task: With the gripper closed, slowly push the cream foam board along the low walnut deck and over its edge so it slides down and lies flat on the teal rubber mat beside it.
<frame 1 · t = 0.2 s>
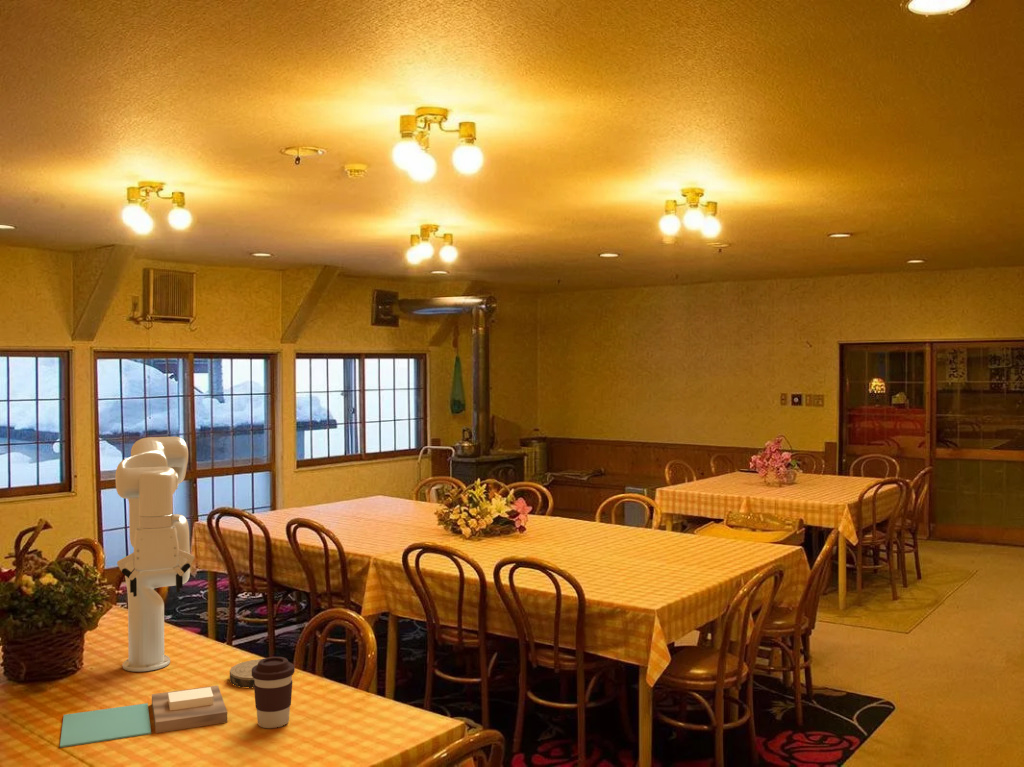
hand: (156, 593, 219), 31 cm above the table, tool pointing down, fingers open, 9 cm apart
deck: (188, 712, 224), on the table
wood slice coaster: (260, 679, 250), on the table
mat: (106, 724, 217), on the table
coffee cup: (273, 724, 218), on the table
cream foam board: (190, 702, 224), point 2 cm above the table, touching deck
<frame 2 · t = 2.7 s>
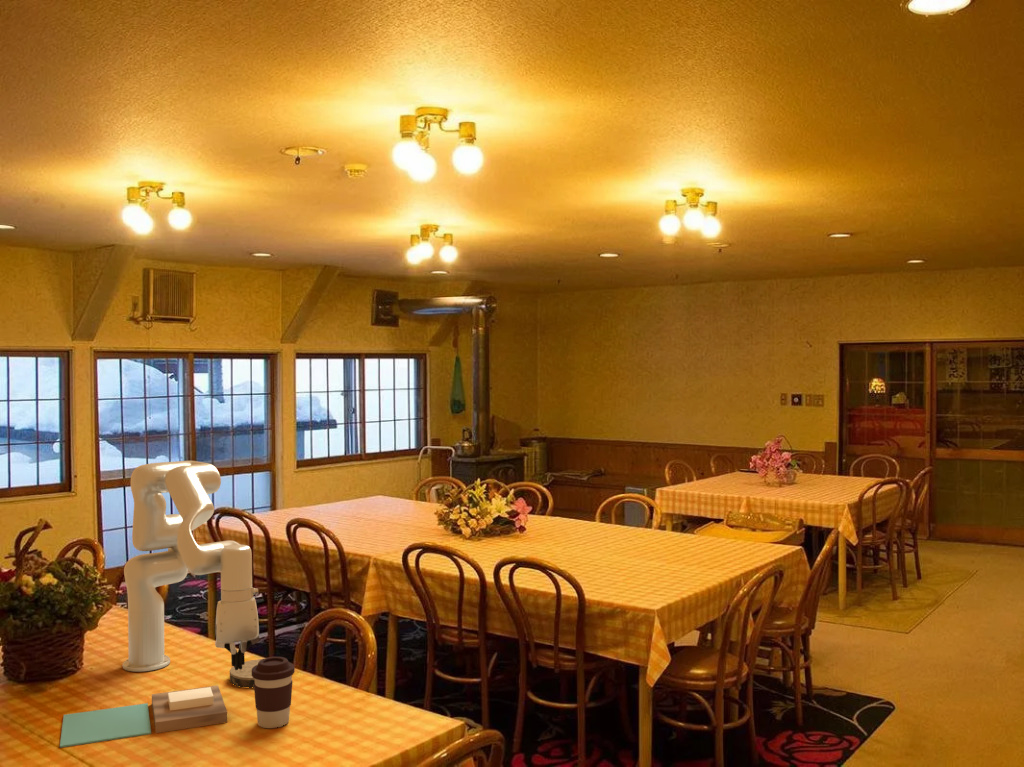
hand: (238, 668, 228), 10 cm above the table, tool pointing down, fingers closed
nothing on the table moved.
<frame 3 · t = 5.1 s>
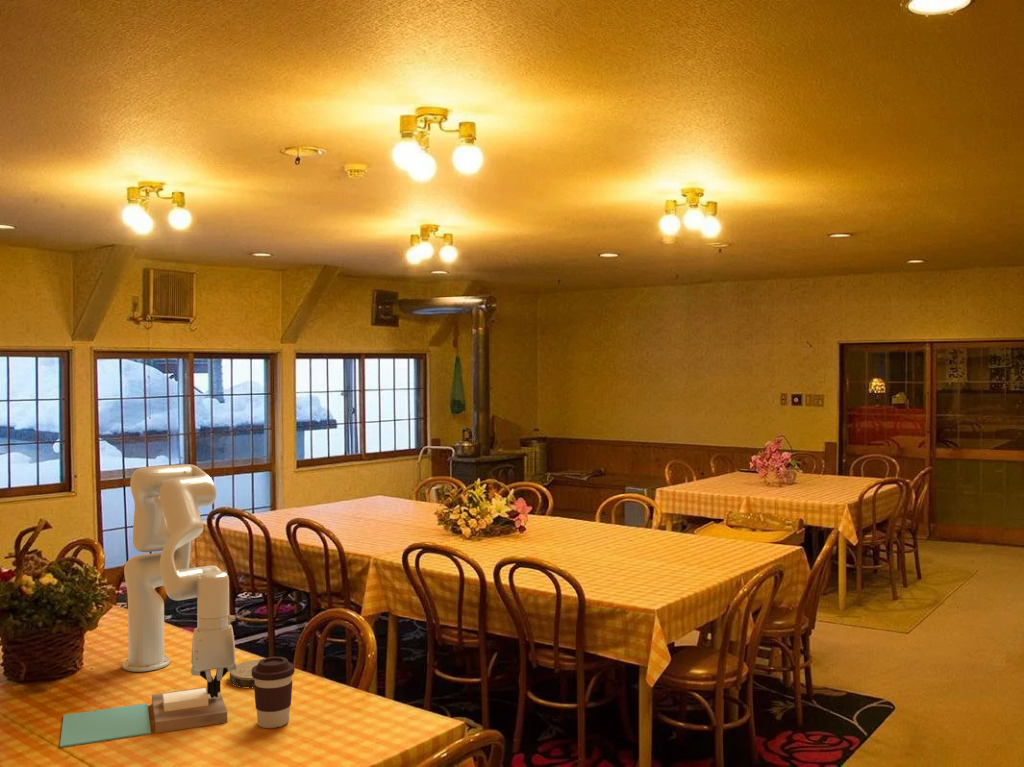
hand: (213, 695, 227), 3 cm above the table, tool pointing down, fingers closed
cream foam board: (185, 703, 224), point 2 cm above the table, touching deck
everything else where it was.
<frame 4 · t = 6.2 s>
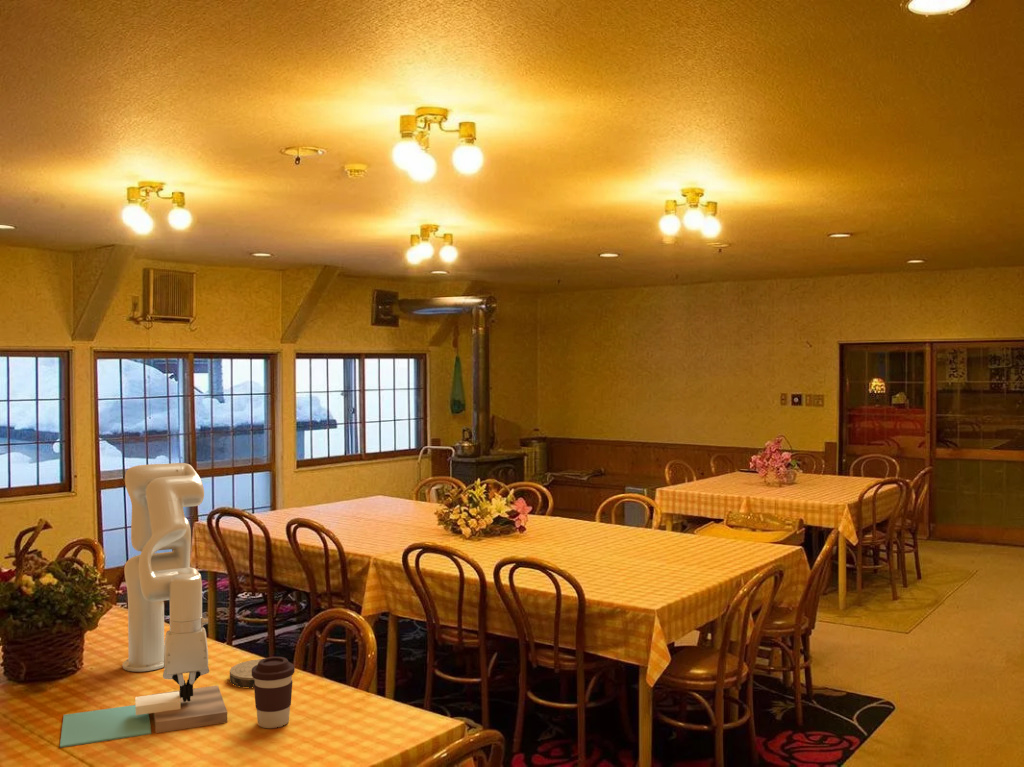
hand: (186, 699, 224), 3 cm above the table, tool pointing down, fingers closed
cream foam board: (157, 707, 221), point 3 cm above the table, touching gripper
everything else where it was.
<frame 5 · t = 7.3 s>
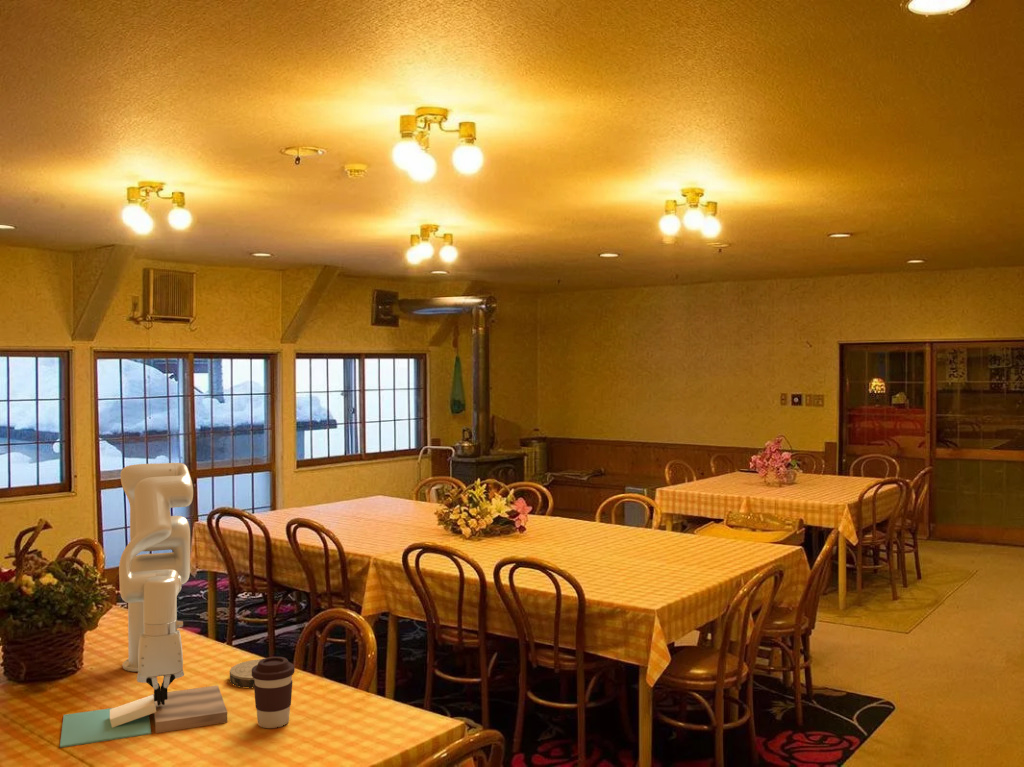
hand: (160, 703, 222), 3 cm above the table, tool pointing down, fingers closed
cream foam board: (134, 714, 219), point 2 cm above the table, tilted 13°, touching gripper
everything else where it was.
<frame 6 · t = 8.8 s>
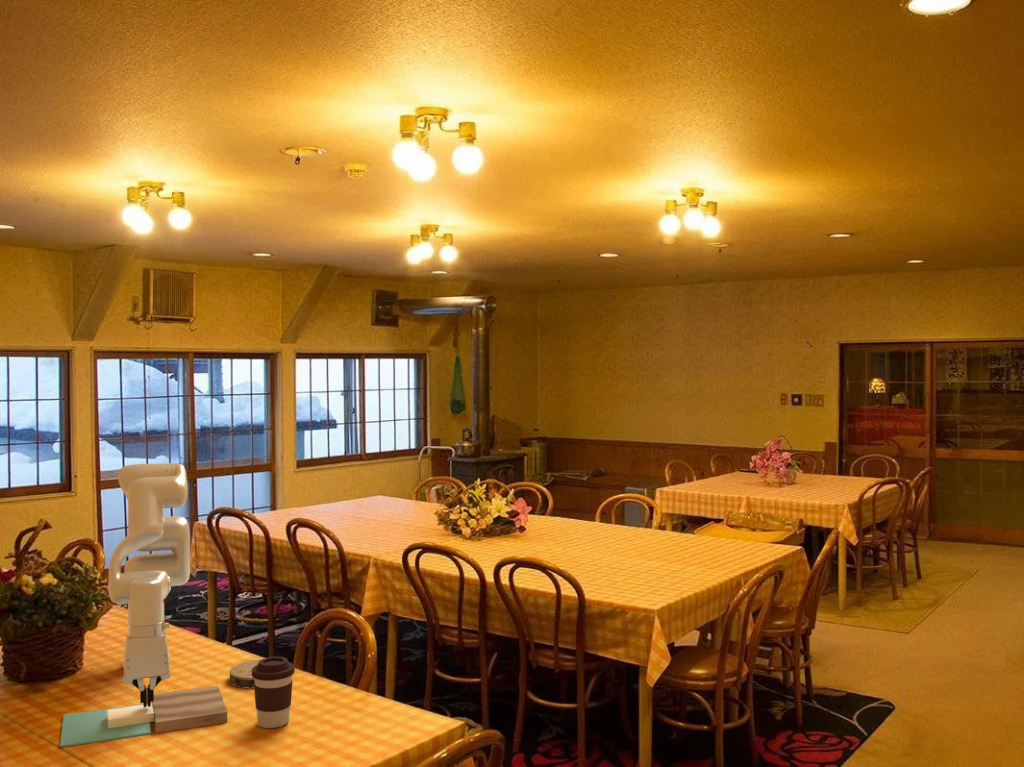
hand: (147, 705, 220), 3 cm above the table, tool pointing down, fingers closed
cream foam board: (130, 719, 219), resting on mat
everything else where it was.
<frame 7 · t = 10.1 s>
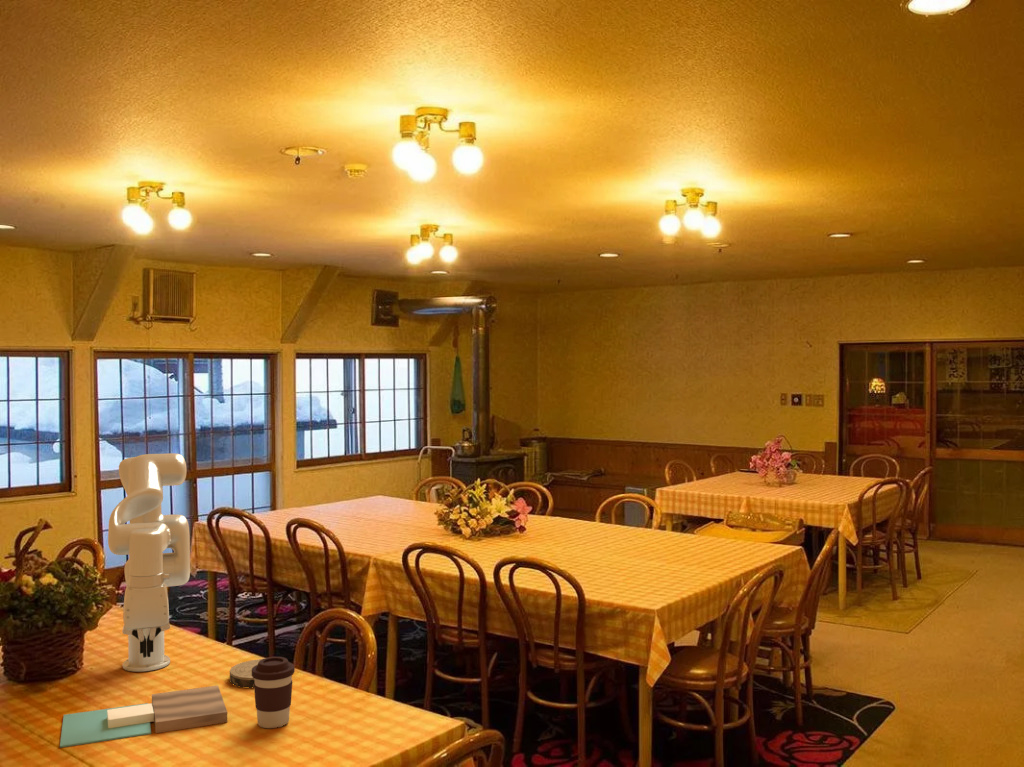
hand: (146, 655, 221), 15 cm above the table, tool pointing down, fingers closed
nothing on the table moved.
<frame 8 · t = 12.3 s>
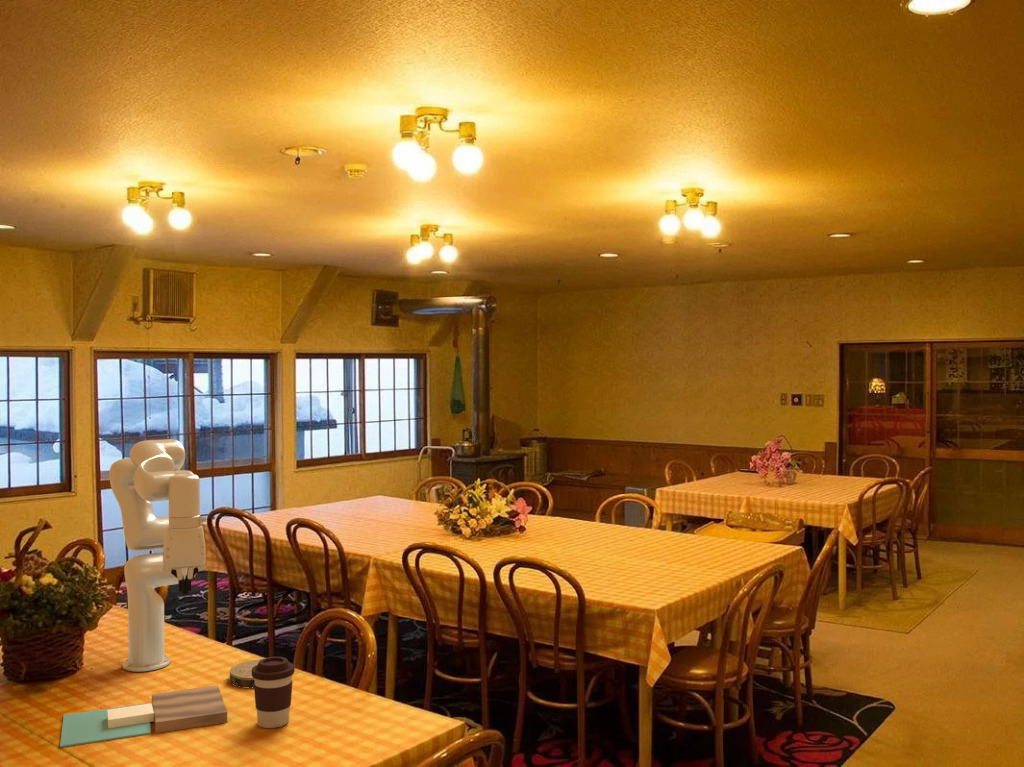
hand: (184, 594, 233), 27 cm above the table, tool pointing down, fingers closed
nothing on the table moved.
at the end: cream foam board inside the target area (5.8 cm from its centre), resting on mat; cream foam board tilted 0°; cream foam board touching mat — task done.
